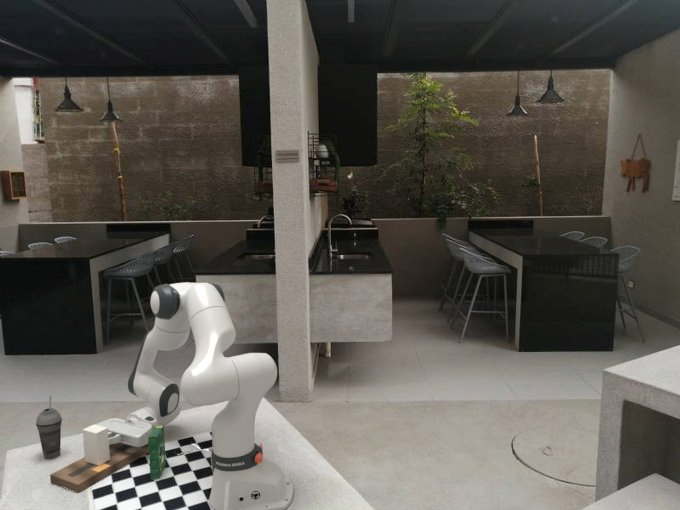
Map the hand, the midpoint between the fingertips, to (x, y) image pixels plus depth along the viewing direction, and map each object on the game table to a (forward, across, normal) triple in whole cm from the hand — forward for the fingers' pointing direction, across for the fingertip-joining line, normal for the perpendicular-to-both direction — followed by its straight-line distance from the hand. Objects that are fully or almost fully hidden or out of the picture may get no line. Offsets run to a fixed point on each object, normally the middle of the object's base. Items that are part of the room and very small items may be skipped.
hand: (102, 442), depth 162 cm
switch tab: (+2, 0, +5) cm, 5 cm away
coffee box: (-4, +18, +8) cm, 20 cm away
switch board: (0, 0, +7) cm, 7 cm away
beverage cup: (+3, -21, +8) cm, 22 cm away
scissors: (-21, +20, +8) cm, 30 cm away
